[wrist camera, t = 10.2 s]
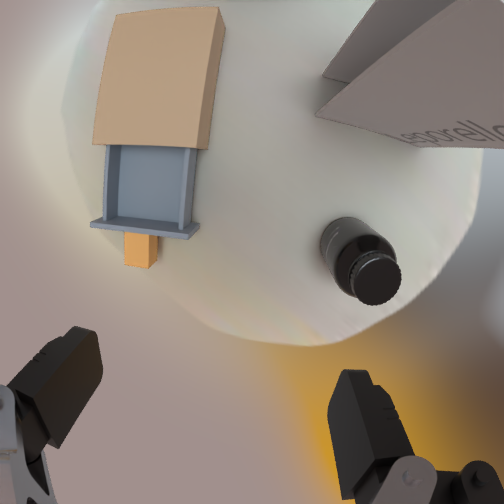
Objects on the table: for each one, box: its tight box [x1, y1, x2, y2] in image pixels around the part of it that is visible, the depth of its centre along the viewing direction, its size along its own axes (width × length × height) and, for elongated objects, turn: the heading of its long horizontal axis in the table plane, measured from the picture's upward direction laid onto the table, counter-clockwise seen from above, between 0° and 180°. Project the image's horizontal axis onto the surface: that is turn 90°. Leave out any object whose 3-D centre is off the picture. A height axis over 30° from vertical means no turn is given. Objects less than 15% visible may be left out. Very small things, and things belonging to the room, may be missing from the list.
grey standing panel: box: [315, 0, 504, 149], centre depth 17 cm, size 14×6×30 cm, turn 80°
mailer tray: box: [90, 145, 200, 269], centre depth 32 cm, size 20×12×5 cm, turn 173°
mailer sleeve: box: [92, 7, 225, 150], centre depth 28 cm, size 16×12×6 cm
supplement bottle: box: [321, 217, 402, 306], centre depth 30 cm, size 7×7×12 cm
